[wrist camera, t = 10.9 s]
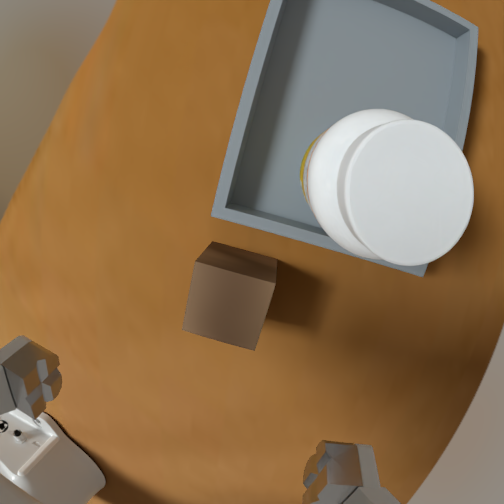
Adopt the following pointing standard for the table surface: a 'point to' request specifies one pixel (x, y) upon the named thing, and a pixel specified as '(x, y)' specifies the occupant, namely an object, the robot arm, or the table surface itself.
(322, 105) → the tray
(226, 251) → the walnut block
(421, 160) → the supplement bottle
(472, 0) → the table surface
